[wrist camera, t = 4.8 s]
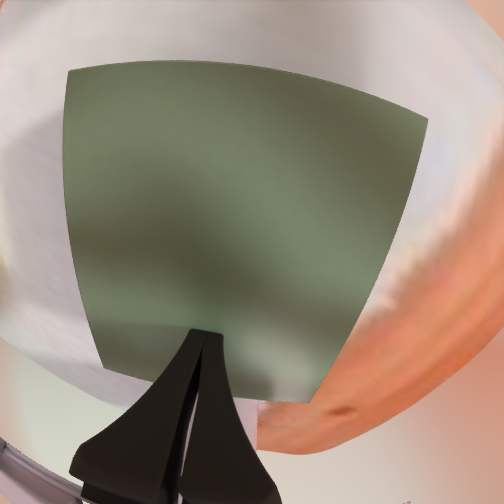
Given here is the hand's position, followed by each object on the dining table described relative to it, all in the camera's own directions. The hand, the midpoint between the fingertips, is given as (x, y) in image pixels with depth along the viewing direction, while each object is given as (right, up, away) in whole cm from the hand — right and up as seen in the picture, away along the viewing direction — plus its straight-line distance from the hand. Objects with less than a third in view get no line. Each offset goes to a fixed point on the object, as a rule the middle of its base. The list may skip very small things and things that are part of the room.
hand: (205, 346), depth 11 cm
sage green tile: (0, +3, -1) cm, 3 cm away
